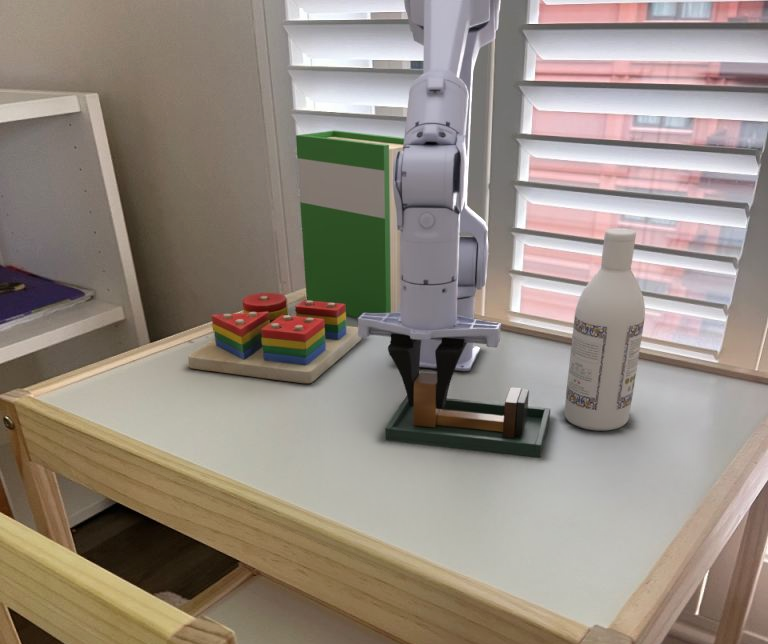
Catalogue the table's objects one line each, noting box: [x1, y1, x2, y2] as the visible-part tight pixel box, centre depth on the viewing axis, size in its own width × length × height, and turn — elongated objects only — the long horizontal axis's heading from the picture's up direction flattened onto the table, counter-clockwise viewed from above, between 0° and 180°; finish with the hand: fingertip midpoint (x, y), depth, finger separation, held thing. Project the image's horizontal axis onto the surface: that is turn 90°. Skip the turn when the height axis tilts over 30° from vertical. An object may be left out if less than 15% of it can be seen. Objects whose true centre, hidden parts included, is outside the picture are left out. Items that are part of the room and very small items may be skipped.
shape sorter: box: [187, 292, 363, 384], centre depth 106 cm, size 18×17×6 cm
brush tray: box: [384, 394, 551, 458], centre depth 86 cm, size 16×9×1 cm, turn 74°
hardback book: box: [295, 129, 404, 319], centre depth 117 cm, size 18×7×24 cm, turn 45°
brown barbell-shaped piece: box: [414, 371, 530, 438], centre depth 85 cm, size 12×4×5 cm, turn 74°
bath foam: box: [563, 227, 646, 432], centre depth 83 cm, size 7×7×20 cm
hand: (427, 403), depth 86 cm, fingers closed on brown barbell-shaped piece, 2 cm apart
